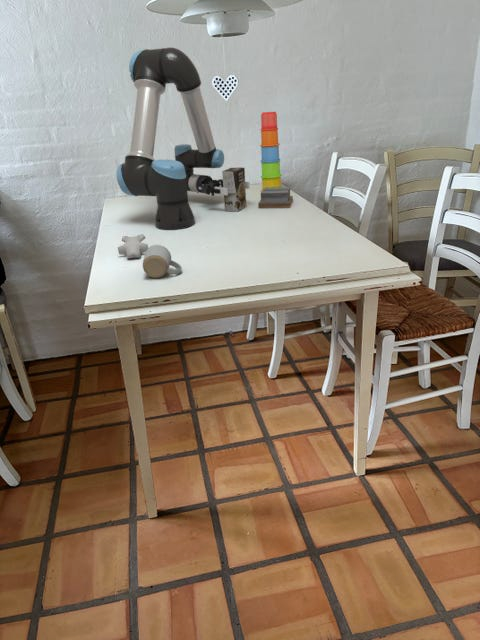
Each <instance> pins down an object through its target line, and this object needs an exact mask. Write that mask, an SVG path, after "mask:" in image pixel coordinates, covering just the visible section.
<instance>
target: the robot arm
mask: <svg viewBox="0 0 480 640" xmlns="http://www.w3.org/2000/svg"><path fill="white" fill-rule="evenodd" d="M128 69H129V70H128V72H129V73H130V74H129V76H130V78H131V81H132V82H133V85H134V87H135V89H136V90H137V93H136V101H135V108H134V116H133V126H132V132H131V133H132V134H131V142H130V151H129V153H128V154H127V155H125V158H124V162H123V163H121V164H119V166H118V167H117V169H116V181H117V185H118V186H119V189H120V190H121V192H123V193H124V194H125V195H127V196H135V197H138V196H140V197H156V203H157V204H156V205H157V207H156V214H155V218H154V222H155V224H154V225H155V227H156V228H157V229H160V230H167V231H168V230H181V229H186V228H189V227H192V226H194V225H195V223H196V217H195V214H194V213H193V210H192V208H191V205H190V203H189V196H188V195H189V194H188V192H194V193H196V194H200V193H201V194H206V195H208V196H210V195H211V197H212V196H214V197H215V195H220V196H224V195H228V188H223V178H222V179H221V178H220V179H213V178H212V177H211V176H210V175H206V174H198V173H197V174H195V173H194V171H195V170H194V169H219V168H220V169H221V168H222V167H223V165H224V162H225V154H224V151H223V150H221V149H219V148H217V147H216V144H215V140H214V137H213V136H214V135H213V133H212V129H211V125H210V121H209V118H208V117H209V116H208V113H207V111H206V106H205V104H204V99H203V95H202V92H201V85H202V81H201V77H200V74H199V72H198V69H197V68H196V66H195V64H194V63H193V61H192V60H191V59H190V57H189V56H188V55H187V54H186V53H184V52H183V51H181V50H180V49H178V48H175V47H166V48H163V47H161V48H153V49H147V48H145V49H142V50H138V51H136V52H134V53H133V54H132V56H131V58H130V60H129V66H128ZM168 84H173V85H175V88H176V91H177V92H178V93H180V95H181V99H182V102H183V105H184V108H185V112H186V114H187V118H188V122H189V124H190V128H191V131H192V134H193V138H194V141H195V145H196V147H197V149H193V148H192V145H191V144H185V143H184V144H178V145H175V146H174V159H167V158H165V159H155V158H154V151H155V142H156V135H157V128H158V127H157V125H158V120H159V119H158V118H159V112H160V111H159V110H160V102H161V95H163V94H164V93H165V92H166V85H168ZM245 189H246V190H249V189H250V182H249V181H245Z"/></svg>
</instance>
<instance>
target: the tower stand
mask: <svg viewBox="0 0 480 640" xmlns="http://www.w3.org/2000/svg"><path fill="white" fill-rule="evenodd" d="M293 198H294V196H293V195H291V186H285V187H284V186H281V187H265V188H264V189H263V191H262V192H261V191H260V200H259V202H258V204H257V205H258V207H257V208H258V209H290V208H291V206H292V203H293V200H294V199H293Z"/></svg>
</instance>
